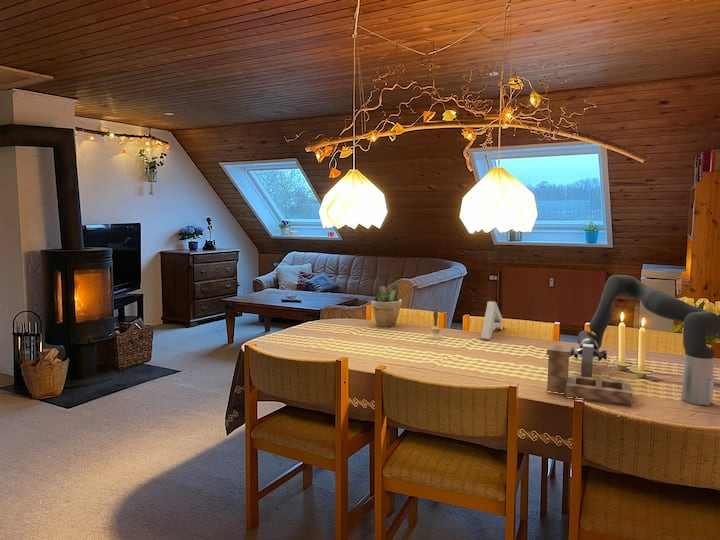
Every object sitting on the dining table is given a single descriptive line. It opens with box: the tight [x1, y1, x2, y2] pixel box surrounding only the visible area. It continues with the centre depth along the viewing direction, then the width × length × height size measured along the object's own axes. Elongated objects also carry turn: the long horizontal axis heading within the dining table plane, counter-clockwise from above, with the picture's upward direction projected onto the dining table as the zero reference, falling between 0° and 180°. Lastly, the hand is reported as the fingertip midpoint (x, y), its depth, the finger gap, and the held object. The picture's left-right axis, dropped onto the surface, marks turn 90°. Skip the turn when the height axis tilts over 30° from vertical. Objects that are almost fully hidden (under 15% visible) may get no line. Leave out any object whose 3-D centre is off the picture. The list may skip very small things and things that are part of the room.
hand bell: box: [427, 308, 444, 340], centre depth 302 cm, size 8×8×16 cm
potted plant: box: [370, 283, 403, 328], centre depth 332 cm, size 18×19×25 cm
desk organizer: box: [546, 344, 633, 408], centre depth 210 cm, size 30×14×17 cm, turn 67°
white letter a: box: [480, 300, 504, 341], centre depth 313 cm, size 22×4×30 cm
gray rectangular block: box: [580, 344, 594, 378], centre depth 223 cm, size 4×5×16 cm
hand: (587, 357), depth 227 cm, fingers open, 8 cm apart
